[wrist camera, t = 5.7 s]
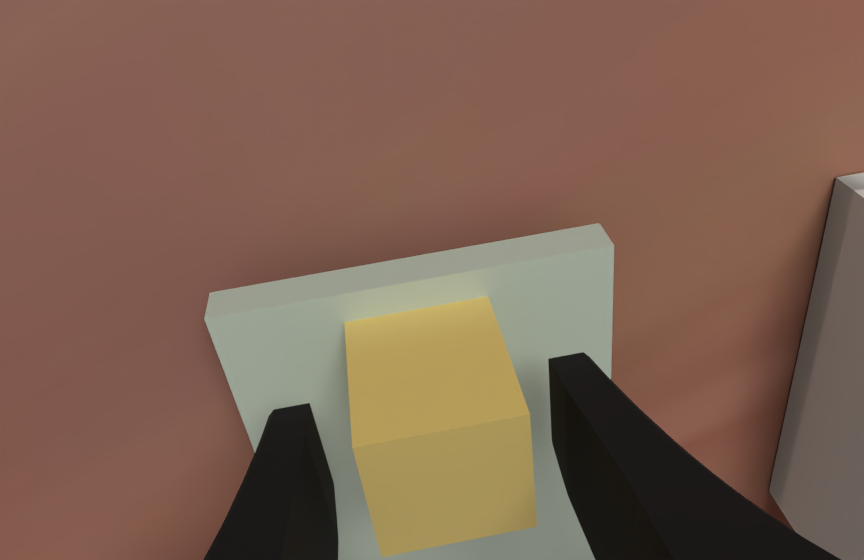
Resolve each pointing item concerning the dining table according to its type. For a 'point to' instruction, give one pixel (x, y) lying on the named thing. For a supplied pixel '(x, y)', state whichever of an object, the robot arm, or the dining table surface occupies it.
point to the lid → (430, 388)
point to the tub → (829, 392)
